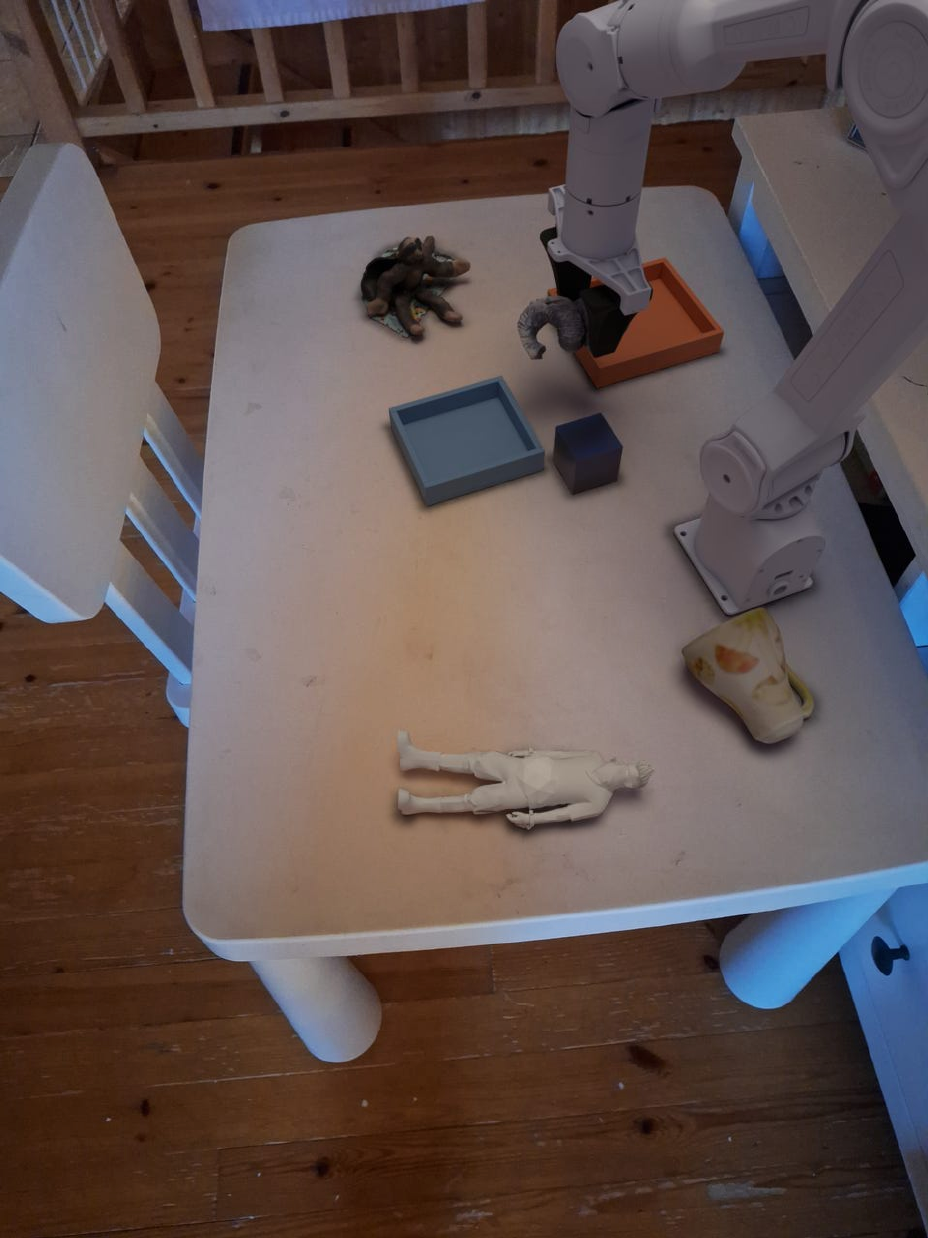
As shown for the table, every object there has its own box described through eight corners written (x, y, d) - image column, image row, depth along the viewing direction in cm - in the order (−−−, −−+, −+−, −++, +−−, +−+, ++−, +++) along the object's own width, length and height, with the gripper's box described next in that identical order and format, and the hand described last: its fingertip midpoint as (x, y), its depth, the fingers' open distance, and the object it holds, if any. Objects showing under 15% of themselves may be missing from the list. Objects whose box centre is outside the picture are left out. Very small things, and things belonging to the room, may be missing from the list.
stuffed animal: (381, 342, 89) (345, 222, 88) (376, 367, 98) (343, 260, 98) (494, 312, 90) (459, 194, 90) (478, 340, 100) (446, 234, 99)
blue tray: (543, 469, 81) (545, 450, 79) (426, 506, 80) (425, 488, 77) (501, 394, 86) (501, 374, 84) (390, 427, 85) (388, 407, 82)
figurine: (396, 727, 64) (650, 711, 63) (405, 746, 68) (645, 731, 67) (396, 826, 61) (664, 811, 60) (405, 840, 65) (658, 826, 63)
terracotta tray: (719, 351, 89) (724, 331, 87) (597, 388, 87) (599, 368, 84) (661, 277, 95) (665, 256, 93) (546, 309, 93) (547, 289, 91)
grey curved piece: (518, 367, 80) (627, 354, 81) (527, 354, 75) (644, 340, 76) (510, 306, 80) (620, 294, 81) (519, 289, 75) (636, 276, 75)
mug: (751, 779, 66) (717, 684, 60) (692, 702, 74) (658, 612, 68) (843, 732, 65) (818, 632, 60) (774, 660, 73) (746, 566, 68)
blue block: (617, 480, 80) (623, 446, 77) (572, 494, 80) (576, 461, 76) (596, 446, 83) (601, 411, 79) (552, 459, 82) (555, 425, 78)
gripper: (516, 144, 70) (512, 290, 82) (597, 254, 63) (580, 397, 74) (598, 123, 71) (583, 270, 83) (687, 228, 64) (657, 373, 76)
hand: (587, 329), depth 79 cm, fingers closed on grey curved piece, 6 cm apart
